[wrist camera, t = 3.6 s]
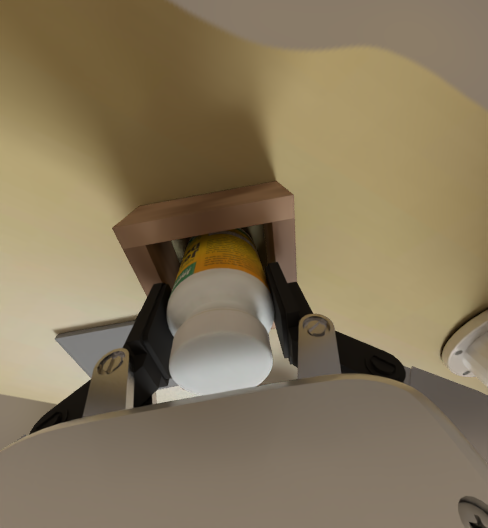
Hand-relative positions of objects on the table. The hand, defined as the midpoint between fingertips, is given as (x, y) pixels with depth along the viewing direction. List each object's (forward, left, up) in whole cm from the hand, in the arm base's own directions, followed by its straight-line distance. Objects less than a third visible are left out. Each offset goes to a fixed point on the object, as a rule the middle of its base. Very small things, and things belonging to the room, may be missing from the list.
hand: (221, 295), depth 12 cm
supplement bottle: (0, 0, -5) cm, 5 cm away
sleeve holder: (0, 0, -5) cm, 5 cm away
